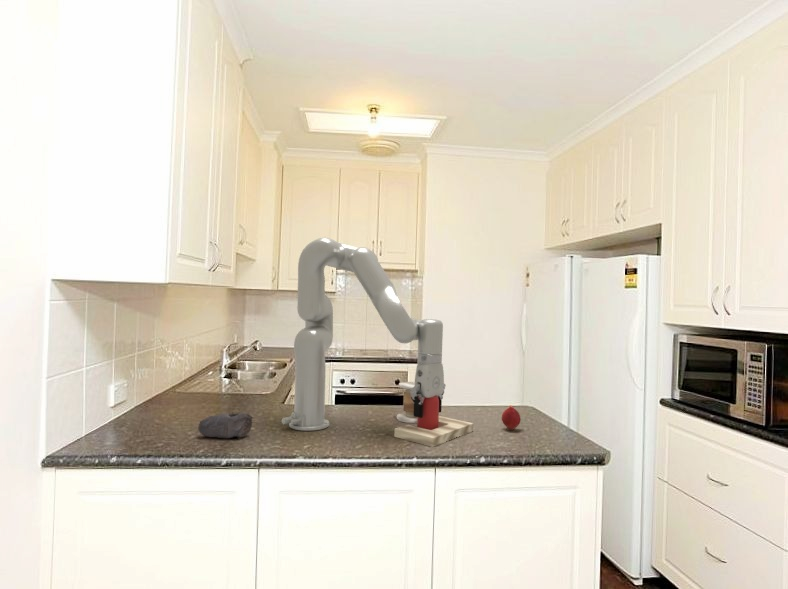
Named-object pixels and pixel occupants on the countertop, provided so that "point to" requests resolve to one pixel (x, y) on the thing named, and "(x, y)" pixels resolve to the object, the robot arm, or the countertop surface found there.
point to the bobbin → (407, 404)
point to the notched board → (434, 432)
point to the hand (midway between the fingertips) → (427, 414)
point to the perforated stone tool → (226, 425)
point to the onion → (511, 418)
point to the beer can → (429, 414)
